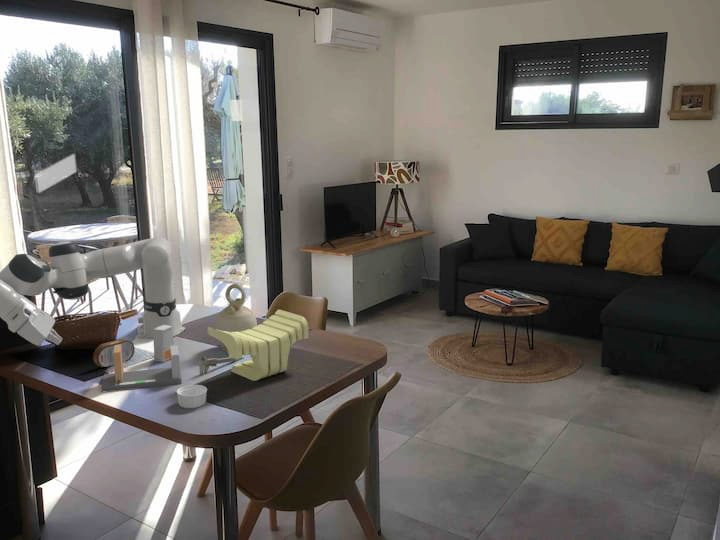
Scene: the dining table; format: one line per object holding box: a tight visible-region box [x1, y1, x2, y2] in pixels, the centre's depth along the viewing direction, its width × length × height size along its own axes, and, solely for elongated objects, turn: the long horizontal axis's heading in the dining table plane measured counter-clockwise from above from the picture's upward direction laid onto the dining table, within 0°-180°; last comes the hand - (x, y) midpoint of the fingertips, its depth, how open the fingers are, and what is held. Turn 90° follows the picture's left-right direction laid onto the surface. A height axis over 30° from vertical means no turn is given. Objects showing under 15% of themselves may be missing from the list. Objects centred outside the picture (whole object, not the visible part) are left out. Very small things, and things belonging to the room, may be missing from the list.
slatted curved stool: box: [207, 308, 309, 382], centre depth 211 cm, size 30×16×18 cm, turn 137°
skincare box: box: [152, 325, 174, 363], centre depth 223 cm, size 6×4×12 cm
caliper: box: [198, 356, 245, 376], centre depth 217 cm, size 20×1×6 cm, turn 147°
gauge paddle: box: [113, 344, 124, 384], centre depth 199 cm, size 2×10×10 cm, turn 18°
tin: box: [92, 338, 135, 368], centre depth 218 cm, size 15×3×8 cm, turn 145°
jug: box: [215, 283, 258, 353], centre depth 234 cm, size 15×16×25 cm
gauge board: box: [101, 344, 182, 393], centre depth 203 cm, size 24×12×10 cm, turn 108°
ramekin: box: [176, 384, 208, 409], centre depth 186 cm, size 9×9×4 cm
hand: (60, 342), depth 193 cm, fingers closed
